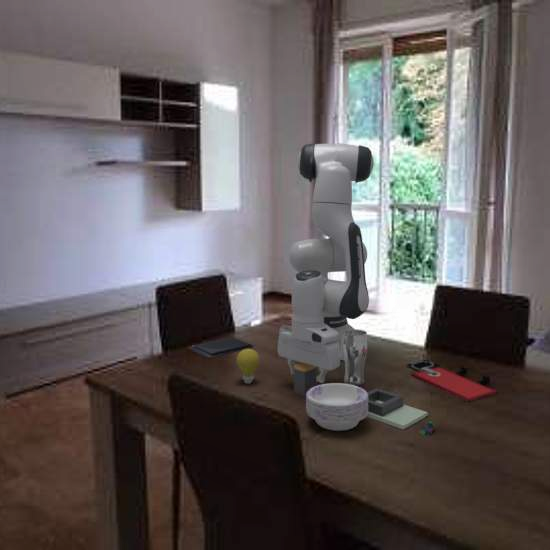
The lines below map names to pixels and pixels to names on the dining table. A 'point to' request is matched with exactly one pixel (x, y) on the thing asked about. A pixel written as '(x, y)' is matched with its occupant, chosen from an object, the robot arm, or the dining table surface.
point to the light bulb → (248, 363)
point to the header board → (392, 409)
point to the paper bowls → (337, 405)
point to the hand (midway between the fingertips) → (307, 378)
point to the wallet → (220, 347)
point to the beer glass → (354, 355)
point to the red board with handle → (451, 380)
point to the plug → (304, 378)
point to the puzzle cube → (428, 428)
